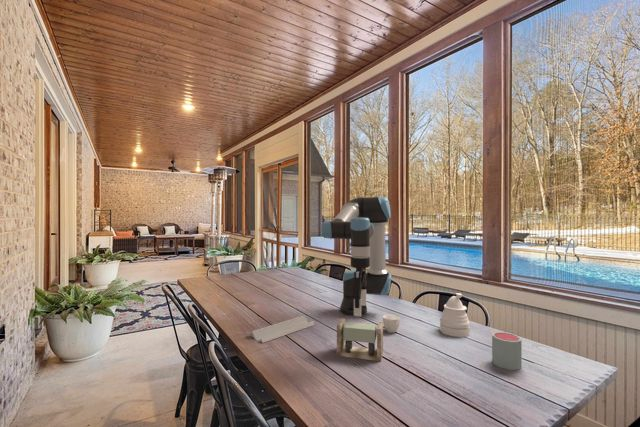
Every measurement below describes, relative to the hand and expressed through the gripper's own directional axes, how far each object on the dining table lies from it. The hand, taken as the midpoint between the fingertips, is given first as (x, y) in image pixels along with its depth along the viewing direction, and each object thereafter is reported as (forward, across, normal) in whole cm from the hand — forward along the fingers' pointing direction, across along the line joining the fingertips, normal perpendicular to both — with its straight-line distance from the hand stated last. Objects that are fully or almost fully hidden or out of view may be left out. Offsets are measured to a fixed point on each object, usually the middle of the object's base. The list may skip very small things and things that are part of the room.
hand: (360, 310), depth 124 cm
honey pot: (+18, -35, +39) cm, 56 cm away
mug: (+17, -8, +54) cm, 57 cm away
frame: (+17, +1, 0) cm, 17 cm away
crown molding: (+18, -14, -39) cm, 45 cm away
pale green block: (+11, +1, 0) cm, 11 cm away
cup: (+18, -28, +11) cm, 35 cm away
